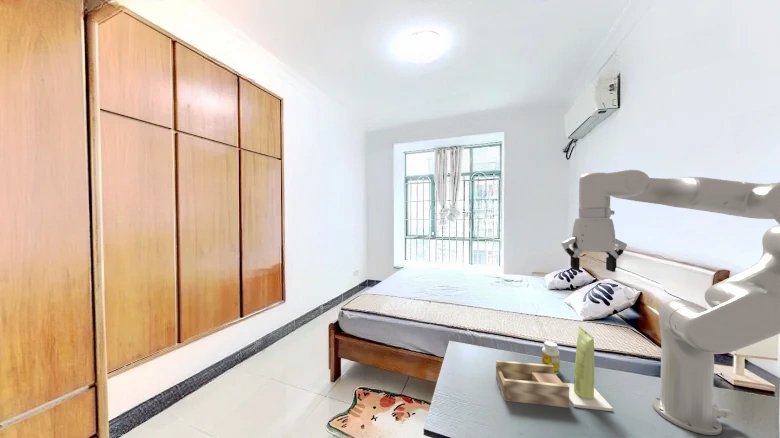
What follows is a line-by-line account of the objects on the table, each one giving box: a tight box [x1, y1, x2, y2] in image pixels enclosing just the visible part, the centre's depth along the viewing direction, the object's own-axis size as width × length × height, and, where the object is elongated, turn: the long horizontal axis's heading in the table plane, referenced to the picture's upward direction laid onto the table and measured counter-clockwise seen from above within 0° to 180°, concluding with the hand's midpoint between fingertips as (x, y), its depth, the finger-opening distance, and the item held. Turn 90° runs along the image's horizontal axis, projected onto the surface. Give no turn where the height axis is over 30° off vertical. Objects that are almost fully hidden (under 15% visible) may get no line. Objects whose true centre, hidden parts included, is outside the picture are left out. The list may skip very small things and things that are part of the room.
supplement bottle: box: [541, 340, 561, 375], centre depth 93 cm, size 5×5×10 cm
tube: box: [573, 325, 595, 399], centre depth 80 cm, size 6×5×20 cm
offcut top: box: [532, 372, 564, 384], centre depth 81 cm, size 7×6×2 cm
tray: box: [495, 359, 570, 408], centre depth 82 cm, size 18×11×6 cm, turn 80°
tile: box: [562, 382, 614, 412], centre depth 80 cm, size 10×10×1 cm
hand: (592, 270), depth 80 cm, fingers open, 9 cm apart
